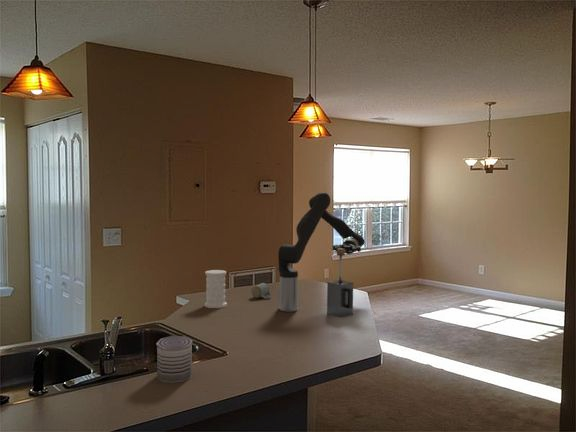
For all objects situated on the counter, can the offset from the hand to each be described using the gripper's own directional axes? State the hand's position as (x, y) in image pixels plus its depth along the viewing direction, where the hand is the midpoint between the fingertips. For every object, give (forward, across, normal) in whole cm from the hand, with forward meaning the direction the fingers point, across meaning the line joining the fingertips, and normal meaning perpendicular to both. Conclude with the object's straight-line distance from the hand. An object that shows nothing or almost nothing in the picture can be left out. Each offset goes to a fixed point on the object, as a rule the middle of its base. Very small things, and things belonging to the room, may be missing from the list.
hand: (344, 249), depth 260 cm
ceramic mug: (-13, -49, +31) cm, 60 cm away
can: (+108, -36, +32) cm, 118 cm away
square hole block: (+10, +1, +31) cm, 33 cm away
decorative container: (+13, -65, +31) cm, 74 cm away
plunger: (+9, 0, +19) cm, 21 cm away
